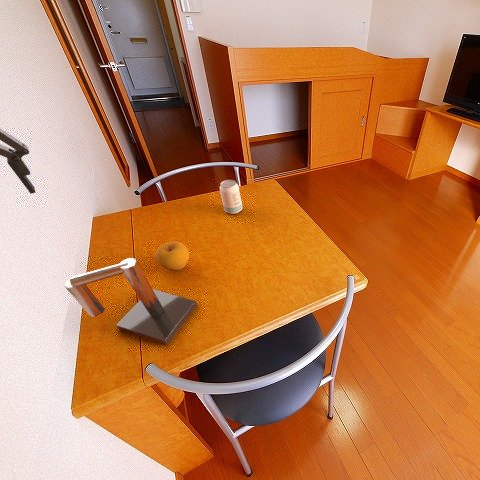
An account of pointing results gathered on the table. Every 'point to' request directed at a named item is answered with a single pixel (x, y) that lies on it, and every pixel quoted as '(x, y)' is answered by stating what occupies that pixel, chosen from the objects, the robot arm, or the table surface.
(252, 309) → the table surface
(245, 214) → the table surface
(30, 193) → the robot arm
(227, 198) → the beverage can
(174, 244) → the apple
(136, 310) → the tap base
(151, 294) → the spout
